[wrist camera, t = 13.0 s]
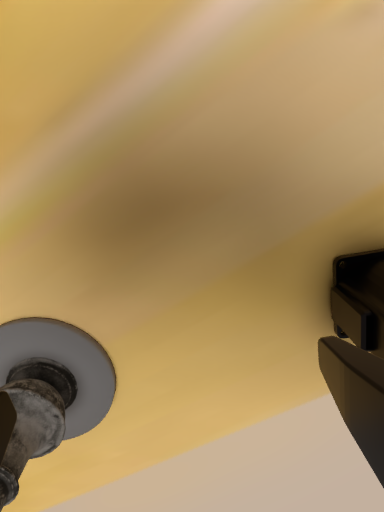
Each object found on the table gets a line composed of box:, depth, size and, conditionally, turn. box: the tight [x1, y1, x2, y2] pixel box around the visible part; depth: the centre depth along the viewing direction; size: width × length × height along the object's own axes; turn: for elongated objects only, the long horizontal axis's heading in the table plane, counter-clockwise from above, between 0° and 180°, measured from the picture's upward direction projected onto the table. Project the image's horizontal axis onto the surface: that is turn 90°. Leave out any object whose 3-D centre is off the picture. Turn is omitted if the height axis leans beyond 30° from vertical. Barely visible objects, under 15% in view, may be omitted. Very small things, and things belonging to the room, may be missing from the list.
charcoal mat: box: [0, 318, 116, 440], centre depth 24 cm, size 11×11×1 cm
